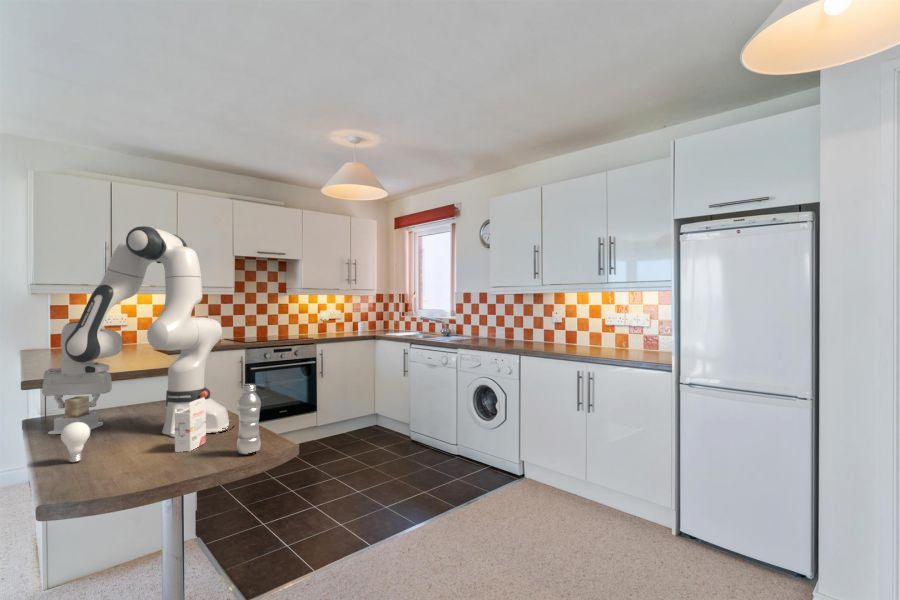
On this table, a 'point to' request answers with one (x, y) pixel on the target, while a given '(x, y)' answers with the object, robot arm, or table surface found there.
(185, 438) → the ink cartridge box
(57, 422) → the cartridge dock
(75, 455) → the lightbulb
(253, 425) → the plastic bottle
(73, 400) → the birch peg block
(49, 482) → the table surface
